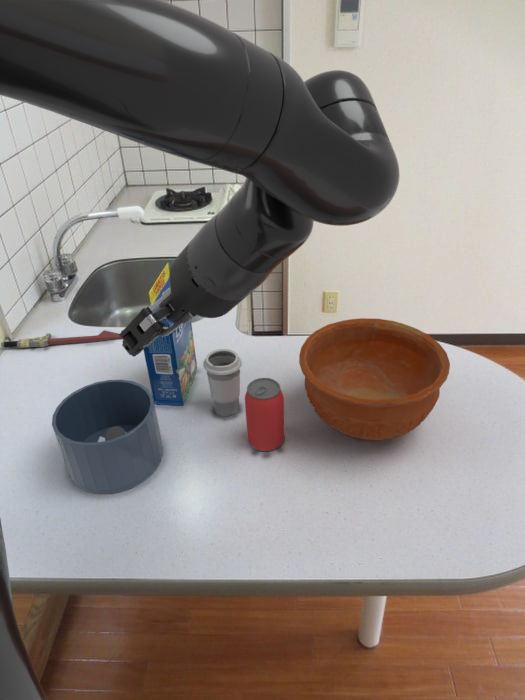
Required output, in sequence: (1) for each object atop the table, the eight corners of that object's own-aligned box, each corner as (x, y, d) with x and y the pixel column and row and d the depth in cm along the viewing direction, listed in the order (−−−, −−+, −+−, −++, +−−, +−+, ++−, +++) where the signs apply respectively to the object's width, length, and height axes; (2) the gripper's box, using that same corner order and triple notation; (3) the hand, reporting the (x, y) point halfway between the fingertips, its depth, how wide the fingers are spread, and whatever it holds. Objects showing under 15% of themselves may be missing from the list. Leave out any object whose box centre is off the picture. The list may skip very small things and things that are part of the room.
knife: (7, 340, 125) (0, 350, 121) (5, 334, 124) (-2, 343, 120) (131, 332, 128) (128, 341, 124) (130, 325, 127) (127, 335, 123)
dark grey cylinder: (126, 471, 89) (127, 459, 81) (91, 461, 89) (89, 448, 80) (138, 438, 92) (140, 423, 83) (104, 428, 91) (103, 412, 83)
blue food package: (198, 369, 112) (184, 262, 98) (184, 406, 103) (166, 293, 89) (170, 368, 113) (152, 261, 99) (153, 404, 103) (130, 292, 89)
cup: (202, 413, 101) (195, 363, 94) (219, 393, 105) (214, 344, 99) (234, 424, 98) (230, 372, 91) (251, 402, 103) (247, 352, 96)
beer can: (240, 443, 94) (235, 390, 87) (262, 422, 98) (260, 371, 91) (269, 458, 90) (267, 405, 83) (291, 436, 94) (291, 384, 88)
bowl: (458, 411, 98) (473, 345, 90) (394, 495, 83) (405, 424, 74) (345, 365, 112) (349, 304, 103) (272, 430, 96) (269, 363, 88)
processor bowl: (119, 508, 83) (104, 459, 76) (48, 472, 90) (30, 424, 83) (181, 443, 94) (173, 396, 88) (114, 415, 101) (102, 370, 95)
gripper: (244, 209, 55) (177, 282, 67) (146, 259, 45) (88, 333, 57) (288, 267, 55) (213, 329, 67) (199, 328, 45) (131, 388, 58)
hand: (156, 331), depth 62 cm, fingers open, 8 cm apart
